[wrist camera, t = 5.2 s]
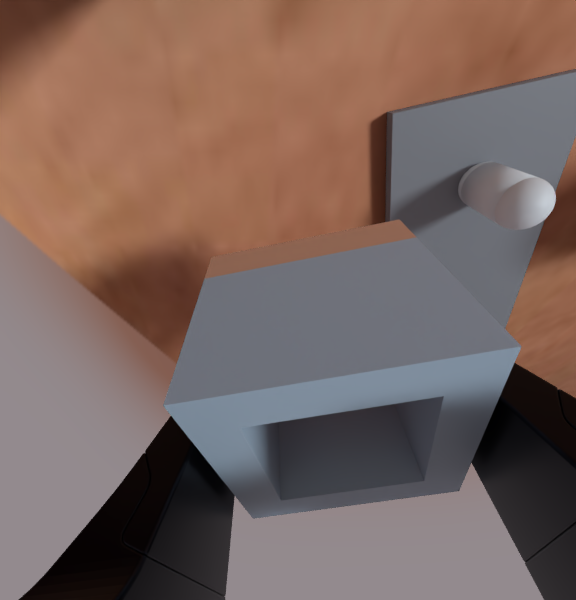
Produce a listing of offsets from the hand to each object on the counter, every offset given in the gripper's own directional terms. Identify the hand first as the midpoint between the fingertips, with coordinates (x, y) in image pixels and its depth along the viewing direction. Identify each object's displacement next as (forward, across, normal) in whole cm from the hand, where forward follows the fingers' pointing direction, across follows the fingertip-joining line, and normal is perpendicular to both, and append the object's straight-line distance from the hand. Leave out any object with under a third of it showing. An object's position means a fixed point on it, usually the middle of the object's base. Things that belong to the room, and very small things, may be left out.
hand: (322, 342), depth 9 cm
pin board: (+10, -10, +5) cm, 15 cm away
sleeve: (+2, 0, 0) cm, 2 cm away
